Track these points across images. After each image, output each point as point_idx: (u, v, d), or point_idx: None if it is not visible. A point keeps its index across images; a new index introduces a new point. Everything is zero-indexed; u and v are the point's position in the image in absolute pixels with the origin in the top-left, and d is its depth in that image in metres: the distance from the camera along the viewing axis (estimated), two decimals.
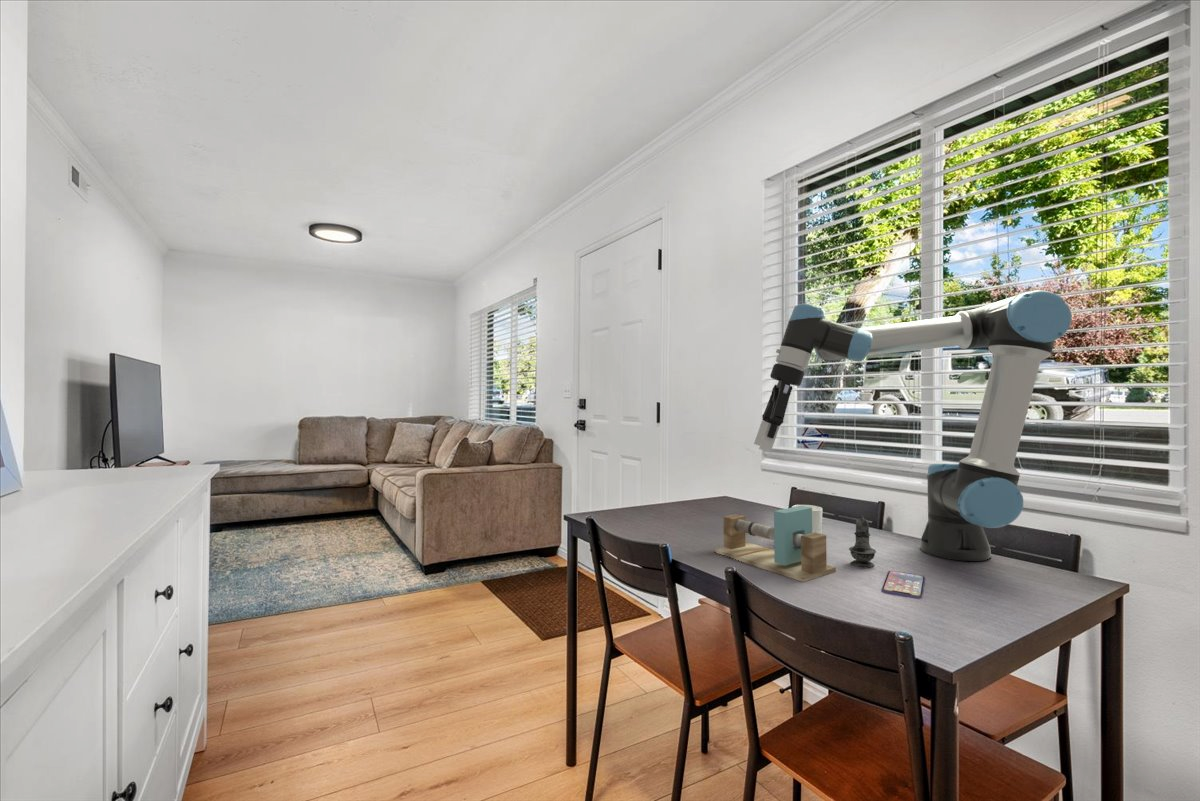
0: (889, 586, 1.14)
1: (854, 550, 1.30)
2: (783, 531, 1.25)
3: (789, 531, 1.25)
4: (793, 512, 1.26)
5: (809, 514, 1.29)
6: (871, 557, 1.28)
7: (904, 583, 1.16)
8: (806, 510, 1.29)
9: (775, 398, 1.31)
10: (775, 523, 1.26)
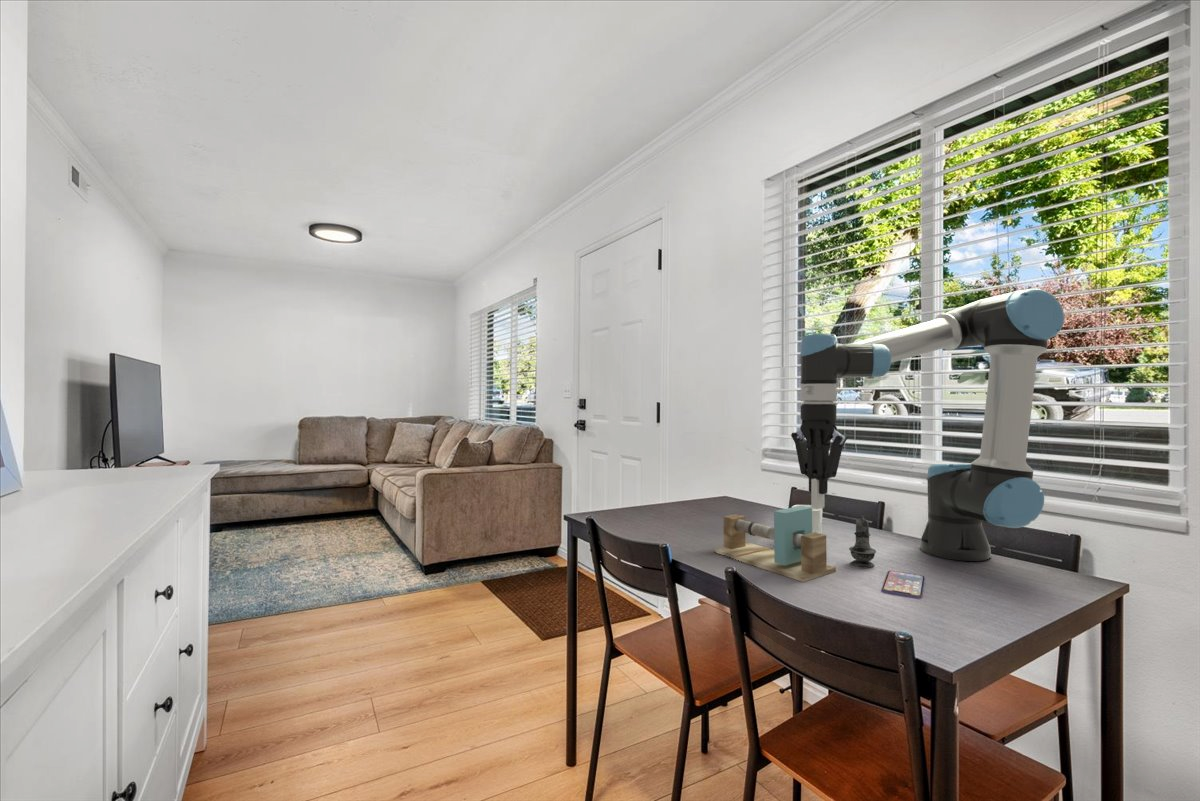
0: (889, 586, 1.14)
1: (854, 550, 1.30)
2: (783, 531, 1.25)
3: (789, 531, 1.25)
4: (793, 512, 1.26)
5: (809, 514, 1.29)
6: (871, 557, 1.28)
7: (904, 583, 1.16)
8: (806, 510, 1.29)
9: (822, 447, 1.20)
10: (775, 523, 1.26)
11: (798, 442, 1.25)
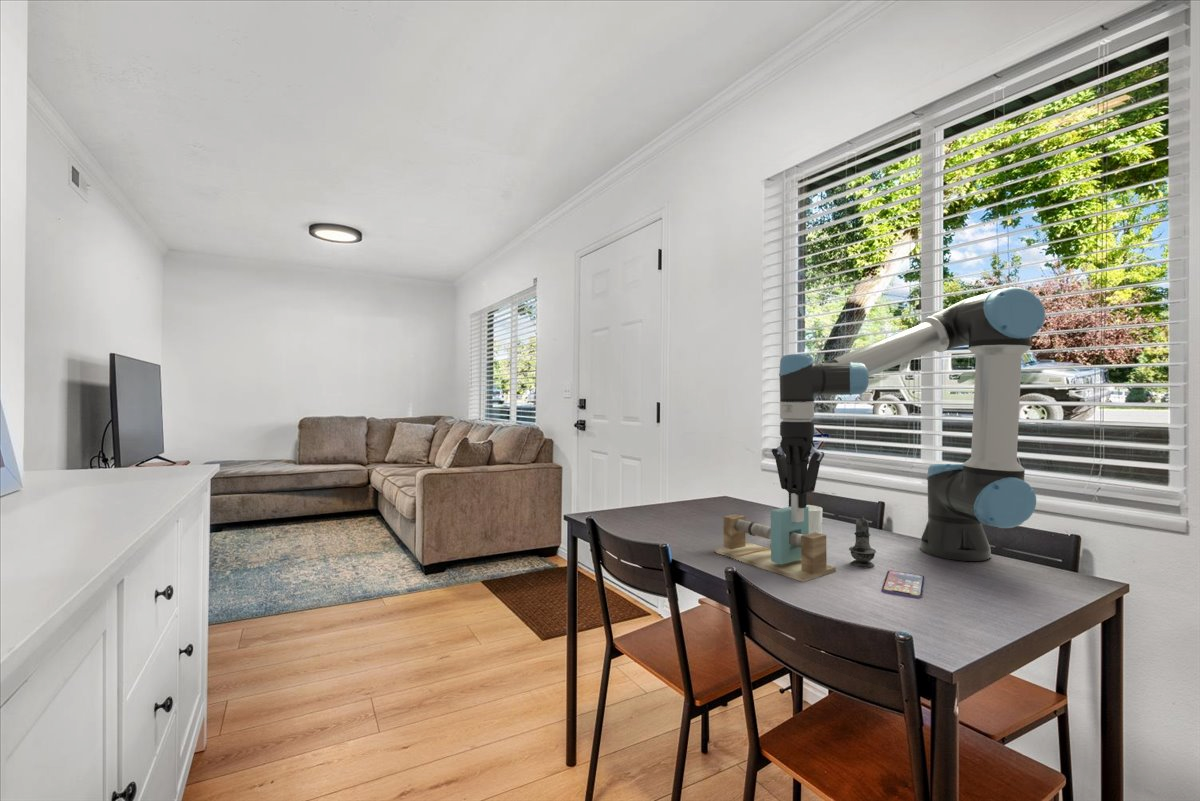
0: (889, 586, 1.14)
1: (854, 550, 1.30)
2: (779, 531, 1.25)
3: (786, 530, 1.26)
4: (790, 511, 1.27)
5: (805, 514, 1.30)
6: (871, 557, 1.28)
7: (904, 583, 1.16)
8: None
9: (800, 463, 1.25)
10: (772, 522, 1.27)
11: (778, 458, 1.30)
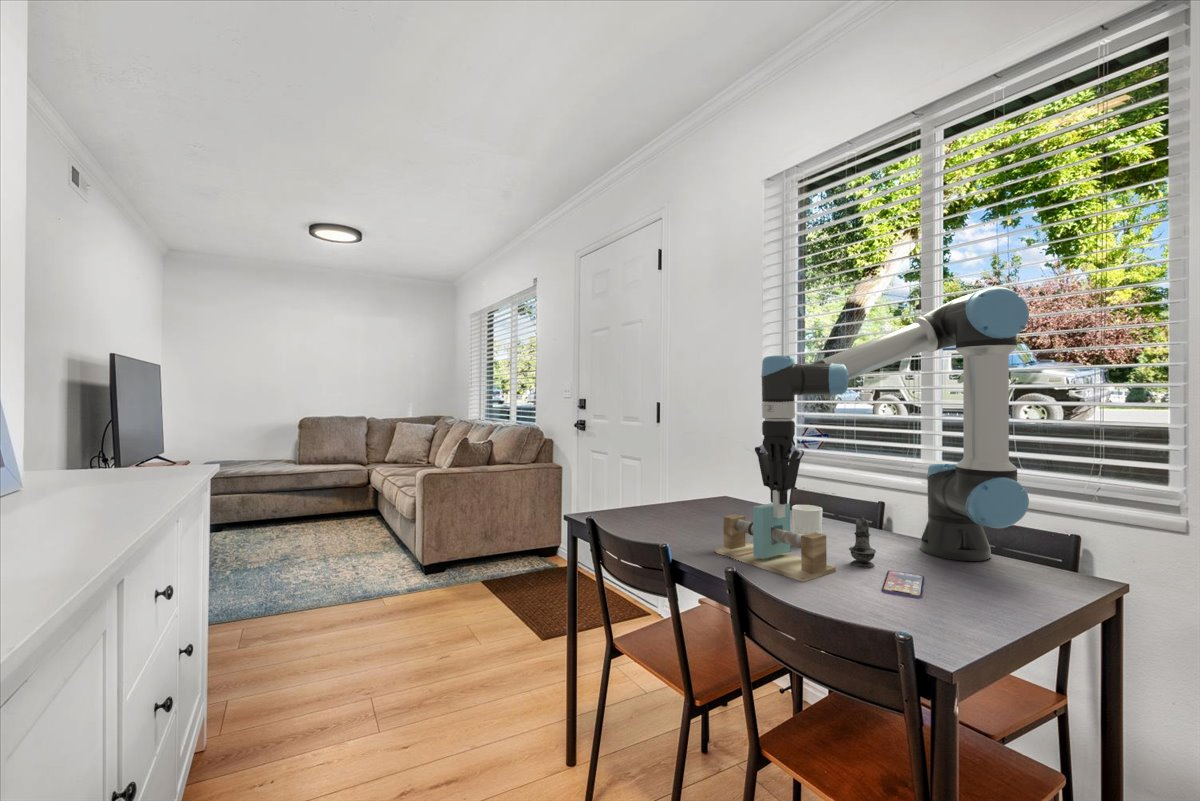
0: (889, 586, 1.14)
1: (854, 550, 1.30)
2: (761, 526, 1.30)
3: (767, 526, 1.30)
4: (771, 508, 1.31)
5: (787, 510, 1.34)
6: (871, 557, 1.28)
7: (904, 583, 1.16)
8: None
9: (781, 461, 1.29)
10: (754, 518, 1.32)
11: (761, 456, 1.34)
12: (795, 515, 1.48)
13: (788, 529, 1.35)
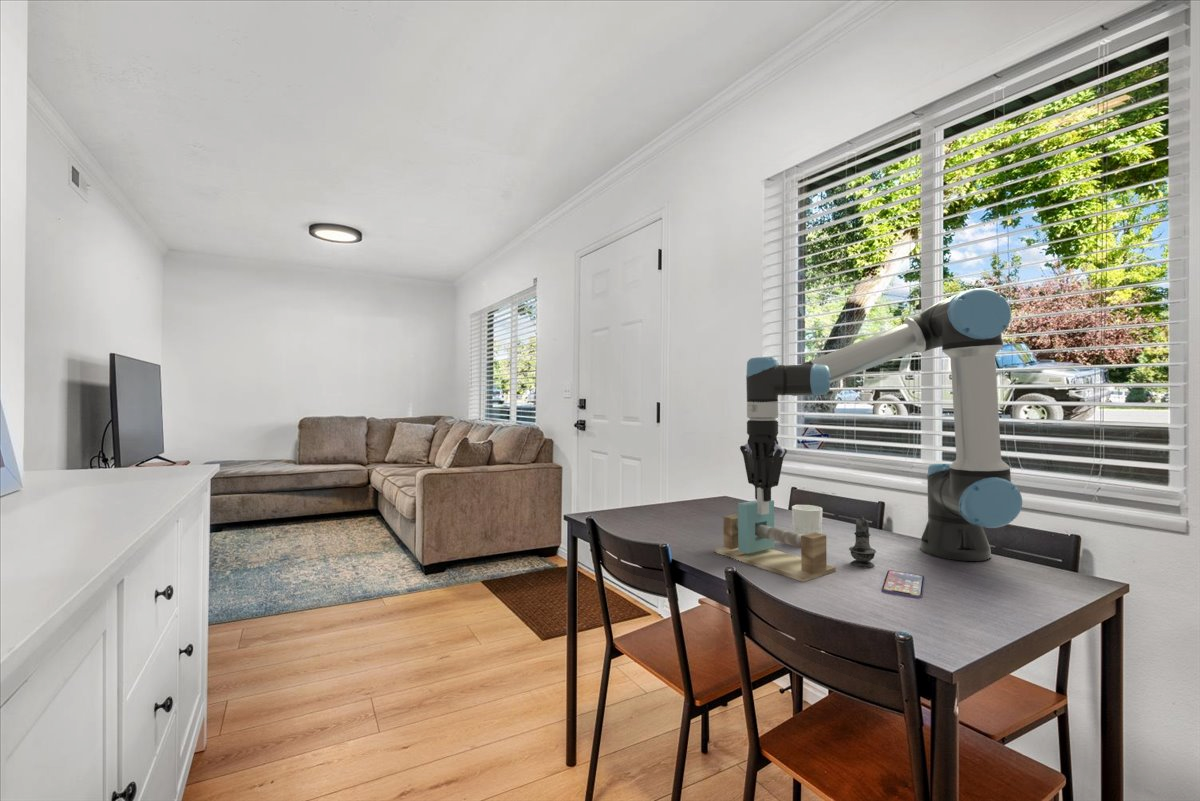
0: (889, 586, 1.14)
1: (854, 550, 1.30)
2: (746, 522, 1.34)
3: (751, 522, 1.34)
4: (755, 504, 1.35)
5: (771, 507, 1.39)
6: (871, 557, 1.28)
7: (904, 583, 1.16)
8: None
9: (765, 459, 1.33)
10: (739, 515, 1.36)
11: (746, 454, 1.39)
12: (795, 515, 1.48)
13: (772, 525, 1.39)
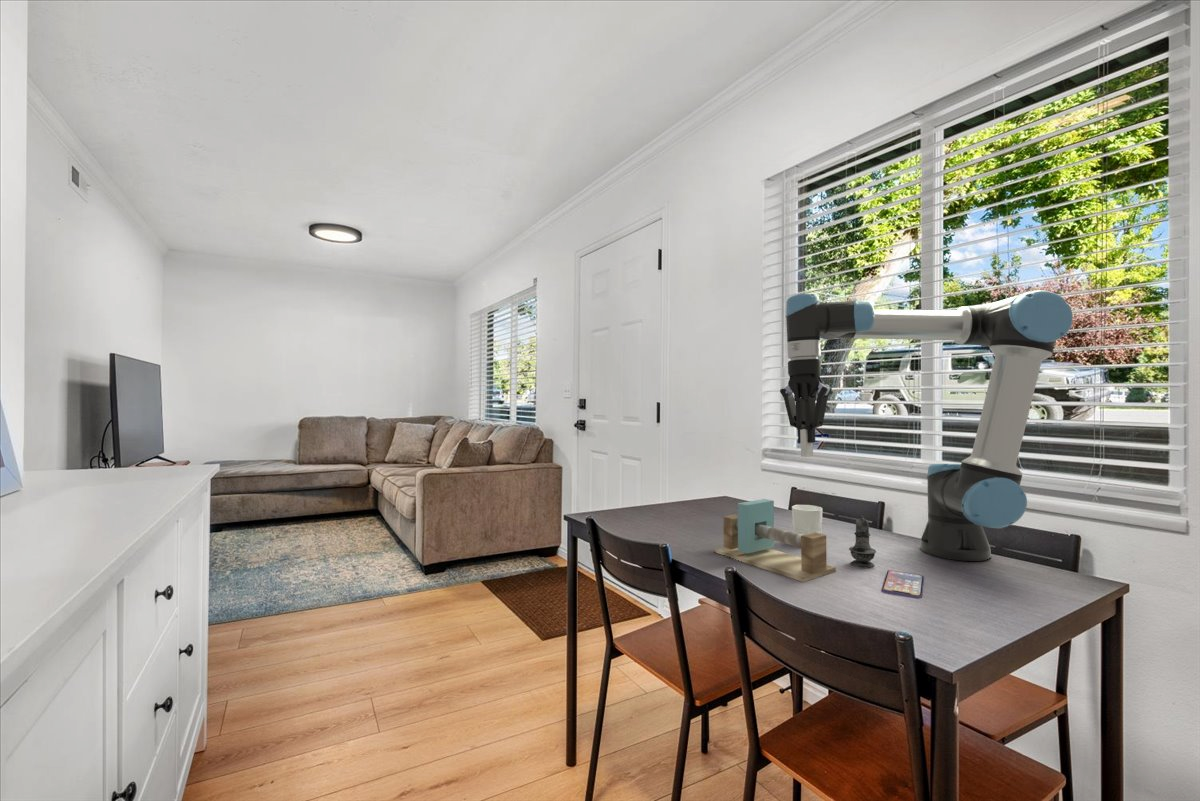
0: (889, 586, 1.14)
1: (854, 550, 1.30)
2: (745, 522, 1.34)
3: (751, 522, 1.35)
4: (755, 504, 1.35)
5: (771, 506, 1.39)
6: (871, 557, 1.28)
7: (903, 583, 1.16)
8: (768, 503, 1.38)
9: (808, 399, 1.30)
10: (738, 515, 1.36)
11: (787, 397, 1.35)
12: (795, 515, 1.48)
13: (772, 525, 1.39)
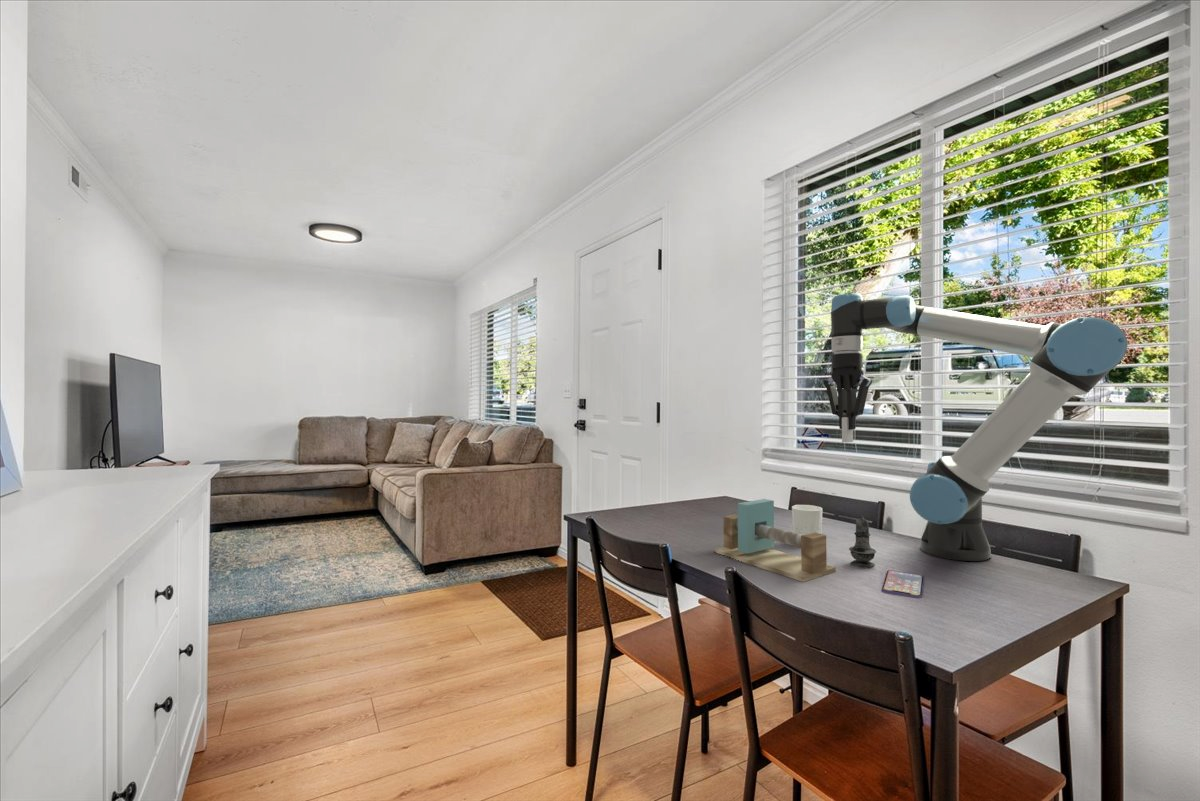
0: (889, 586, 1.14)
1: (854, 550, 1.30)
2: (745, 522, 1.34)
3: (751, 522, 1.35)
4: (755, 504, 1.35)
5: (771, 506, 1.39)
6: (871, 557, 1.28)
7: (903, 583, 1.16)
8: (768, 503, 1.38)
9: (850, 389, 1.42)
10: (738, 515, 1.36)
11: (829, 387, 1.47)
12: (795, 515, 1.48)
13: (772, 525, 1.39)
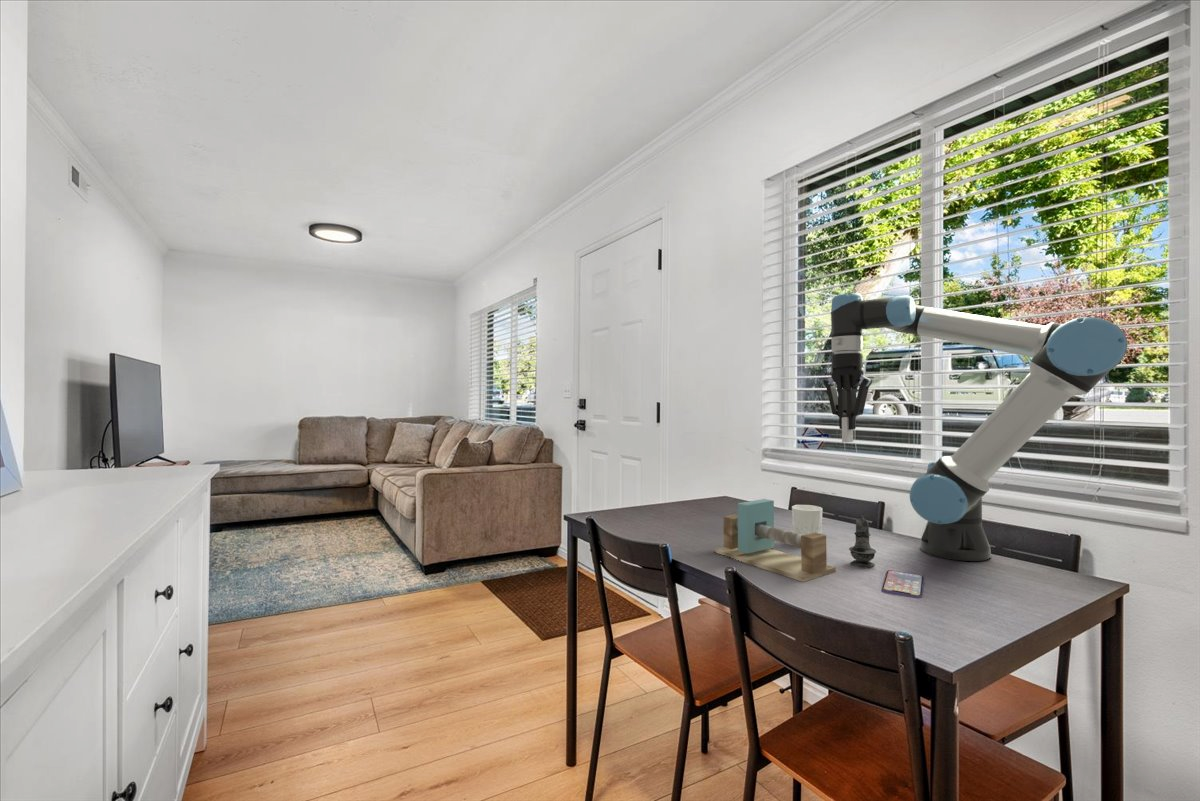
0: (889, 586, 1.14)
1: (854, 550, 1.30)
2: (745, 522, 1.34)
3: (751, 522, 1.35)
4: (755, 504, 1.35)
5: (771, 506, 1.39)
6: (871, 557, 1.28)
7: (903, 583, 1.16)
8: (768, 503, 1.38)
9: (850, 389, 1.42)
10: (738, 515, 1.36)
11: (829, 387, 1.47)
12: (795, 515, 1.48)
13: (772, 525, 1.39)
